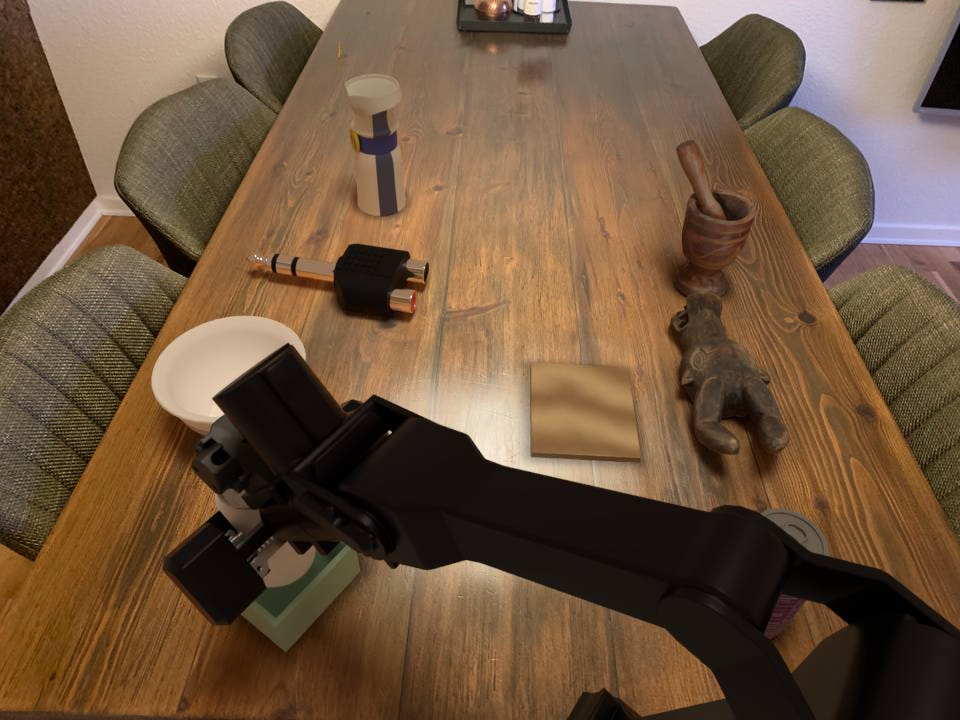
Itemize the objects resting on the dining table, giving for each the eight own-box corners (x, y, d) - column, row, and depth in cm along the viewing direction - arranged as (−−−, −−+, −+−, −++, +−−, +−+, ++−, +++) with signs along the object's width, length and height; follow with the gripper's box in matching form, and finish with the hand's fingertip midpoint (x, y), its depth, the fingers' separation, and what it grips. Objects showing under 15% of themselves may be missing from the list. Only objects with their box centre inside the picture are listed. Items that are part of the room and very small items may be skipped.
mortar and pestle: (642, 292, 99) (673, 163, 85) (649, 257, 105) (680, 131, 91) (727, 309, 97) (773, 180, 83) (729, 272, 103) (773, 145, 89)
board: (639, 462, 78) (641, 457, 78) (531, 456, 79) (531, 452, 78) (627, 371, 88) (628, 366, 88) (530, 366, 88) (531, 361, 88)
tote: (360, 571, 68) (355, 543, 65) (286, 652, 63) (275, 627, 59) (289, 519, 72) (280, 490, 69) (213, 591, 66) (199, 564, 63)
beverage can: (734, 558, 70) (772, 489, 62) (799, 608, 67) (850, 541, 58) (693, 605, 67) (729, 538, 58) (761, 660, 63) (809, 597, 55)
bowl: (268, 492, 74) (252, 441, 68) (142, 447, 78) (116, 395, 72) (341, 387, 85) (332, 335, 79) (227, 353, 89) (210, 301, 83)
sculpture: (730, 321, 95) (746, 282, 90) (788, 482, 78) (813, 444, 73) (656, 319, 95) (668, 279, 90) (697, 480, 77) (716, 442, 72)
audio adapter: (407, 296, 89) (223, 266, 92) (409, 327, 93) (232, 297, 96) (430, 246, 97) (259, 220, 100) (431, 277, 100) (266, 251, 104)
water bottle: (364, 223, 109) (347, 60, 92) (348, 195, 115) (329, 36, 97) (415, 212, 112) (407, 51, 94) (397, 185, 117) (386, 28, 99)
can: (231, 583, 62) (194, 506, 54) (259, 520, 67) (230, 440, 58) (302, 595, 61) (276, 519, 53) (326, 531, 66) (305, 451, 57)
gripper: (355, 326, 51) (277, 368, 64) (132, 502, 40) (89, 512, 53) (444, 445, 54) (352, 463, 66) (255, 641, 43) (187, 620, 55)
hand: (254, 507), depth 60 cm, fingers closed on can, 6 cm apart
